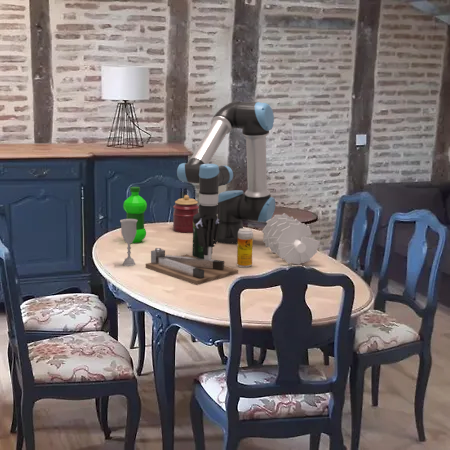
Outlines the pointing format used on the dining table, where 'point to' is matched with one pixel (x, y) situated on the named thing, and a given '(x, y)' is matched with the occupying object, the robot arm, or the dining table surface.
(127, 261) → the chalice
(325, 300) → the dining table surface
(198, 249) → the coffee jar
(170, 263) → the grey l-shaped bar
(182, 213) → the canister
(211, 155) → the robot arm
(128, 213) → the plastic bottle
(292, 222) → the spiral staircase
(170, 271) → the cutting board
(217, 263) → the arm
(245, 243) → the beer can
